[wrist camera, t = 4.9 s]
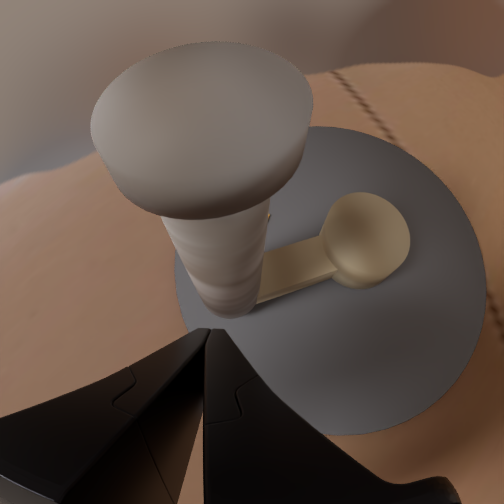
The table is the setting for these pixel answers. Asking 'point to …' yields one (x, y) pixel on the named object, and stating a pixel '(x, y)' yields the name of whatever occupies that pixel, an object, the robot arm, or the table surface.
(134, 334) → the table surface
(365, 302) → the dial plate
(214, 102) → the crank handle
